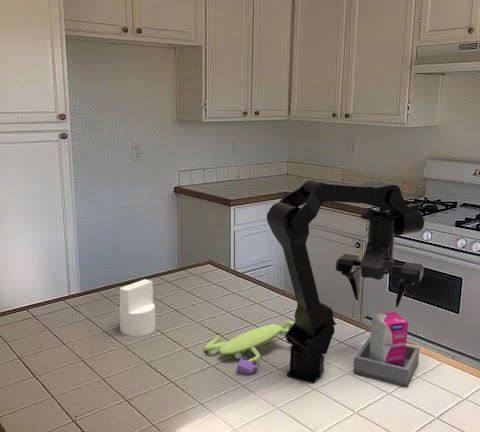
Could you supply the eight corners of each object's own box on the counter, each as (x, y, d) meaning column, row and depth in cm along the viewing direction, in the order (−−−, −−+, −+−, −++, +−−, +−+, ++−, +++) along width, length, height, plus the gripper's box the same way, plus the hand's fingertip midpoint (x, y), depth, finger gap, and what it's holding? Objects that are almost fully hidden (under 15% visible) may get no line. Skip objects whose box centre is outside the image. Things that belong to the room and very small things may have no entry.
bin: (353, 373, 120) (354, 357, 119) (368, 352, 129) (369, 336, 129) (407, 387, 114) (408, 370, 113) (418, 364, 124) (419, 348, 123)
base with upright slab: (136, 339, 135) (135, 293, 133) (113, 329, 141) (111, 285, 138) (162, 327, 142) (161, 283, 140) (139, 318, 148) (137, 276, 145)
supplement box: (381, 373, 118) (385, 324, 115) (368, 360, 124) (371, 313, 121) (404, 369, 119) (409, 321, 117) (390, 357, 125) (394, 310, 122)
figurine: (333, 362, 125) (334, 340, 124) (224, 383, 116) (224, 359, 115) (297, 330, 142) (297, 310, 141) (199, 346, 133) (199, 325, 131)
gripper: (329, 241, 119) (327, 308, 122) (417, 252, 111) (412, 323, 114) (344, 230, 129) (341, 292, 132) (426, 239, 120) (421, 305, 124)
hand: (376, 303), depth 125 cm, fingers open, 9 cm apart
